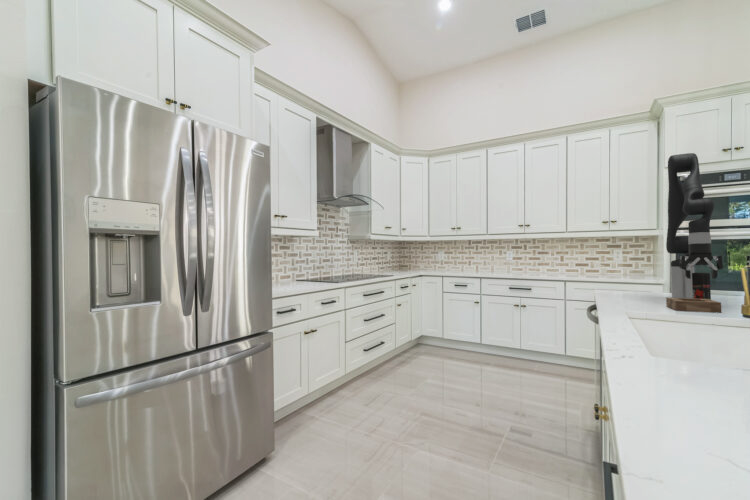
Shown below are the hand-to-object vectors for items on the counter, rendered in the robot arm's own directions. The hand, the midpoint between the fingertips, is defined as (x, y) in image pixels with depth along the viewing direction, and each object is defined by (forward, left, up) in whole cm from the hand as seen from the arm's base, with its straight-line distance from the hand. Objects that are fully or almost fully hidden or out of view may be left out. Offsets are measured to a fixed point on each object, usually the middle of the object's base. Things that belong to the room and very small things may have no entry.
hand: (701, 278), depth 156 cm
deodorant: (0, 0, -13) cm, 13 cm away
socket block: (+13, -7, -13) cm, 19 cm away
